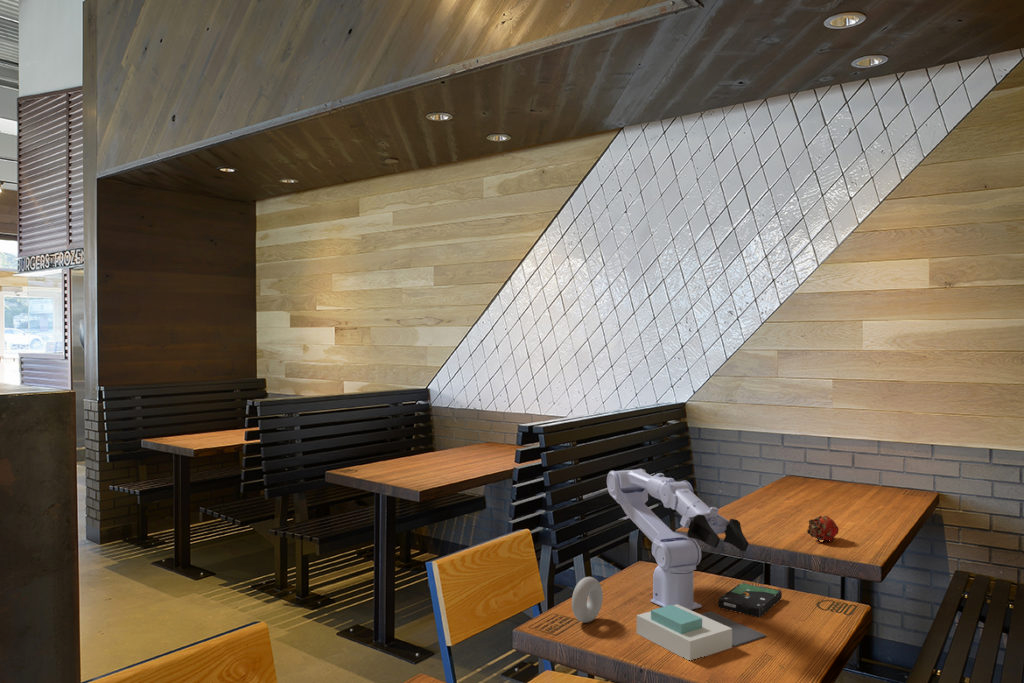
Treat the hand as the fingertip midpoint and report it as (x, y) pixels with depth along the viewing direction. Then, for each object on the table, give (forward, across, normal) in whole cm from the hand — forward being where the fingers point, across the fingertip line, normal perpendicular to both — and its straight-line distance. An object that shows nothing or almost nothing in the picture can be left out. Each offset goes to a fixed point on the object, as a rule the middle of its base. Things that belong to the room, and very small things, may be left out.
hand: (731, 545), depth 156 cm
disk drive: (-10, +22, +20) cm, 32 cm away
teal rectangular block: (+1, -7, +19) cm, 20 cm away
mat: (0, +6, +20) cm, 21 cm away
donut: (-14, -18, +30) cm, 38 cm away
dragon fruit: (-46, +78, +18) cm, 92 cm away
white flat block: (+2, -5, +22) cm, 23 cm away
